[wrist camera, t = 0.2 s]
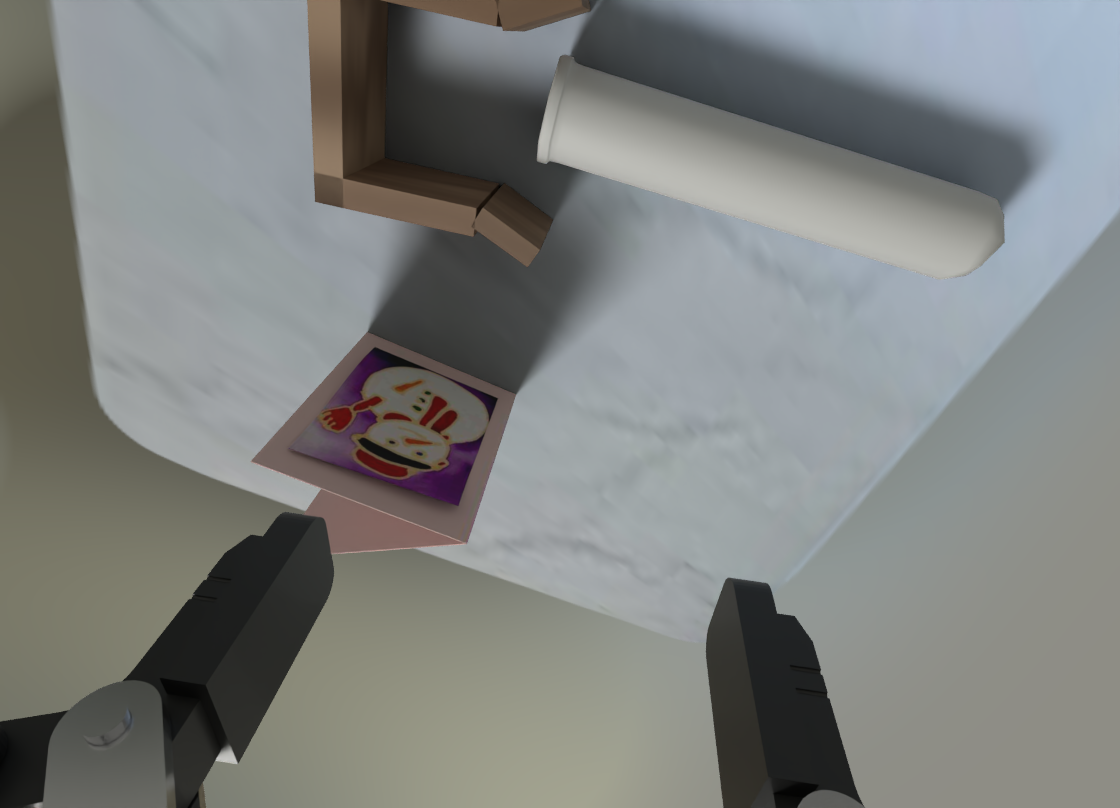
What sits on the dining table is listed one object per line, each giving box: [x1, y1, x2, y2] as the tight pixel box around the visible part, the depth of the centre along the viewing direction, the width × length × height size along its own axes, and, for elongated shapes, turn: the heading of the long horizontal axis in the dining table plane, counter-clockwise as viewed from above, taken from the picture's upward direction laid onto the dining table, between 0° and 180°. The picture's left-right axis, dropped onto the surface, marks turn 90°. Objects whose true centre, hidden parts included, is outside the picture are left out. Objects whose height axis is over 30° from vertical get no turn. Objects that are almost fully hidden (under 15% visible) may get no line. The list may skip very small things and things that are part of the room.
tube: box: [537, 55, 1005, 280], centre depth 32 cm, size 5×5×25 cm
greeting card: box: [251, 332, 516, 554], centre depth 38 cm, size 11×7×15 cm, turn 67°
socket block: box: [307, 0, 591, 267], centre depth 31 cm, size 13×12×6 cm
